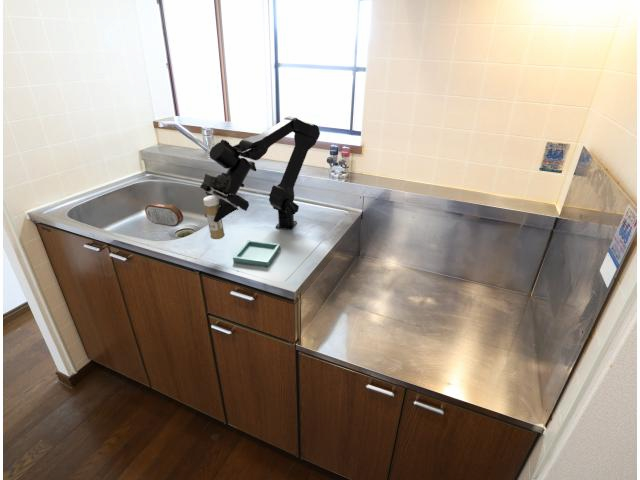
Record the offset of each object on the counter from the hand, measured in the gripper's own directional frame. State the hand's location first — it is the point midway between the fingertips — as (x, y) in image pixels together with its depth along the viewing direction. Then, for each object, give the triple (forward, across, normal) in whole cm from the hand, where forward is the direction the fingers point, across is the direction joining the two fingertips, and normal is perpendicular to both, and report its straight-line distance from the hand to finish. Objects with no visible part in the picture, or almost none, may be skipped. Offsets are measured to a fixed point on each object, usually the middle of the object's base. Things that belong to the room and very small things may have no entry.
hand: (210, 219), depth 114 cm
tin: (+10, -34, +9) cm, 37 cm away
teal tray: (+3, +10, +16) cm, 19 cm away
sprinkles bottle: (+4, 0, +6) cm, 7 cm away
